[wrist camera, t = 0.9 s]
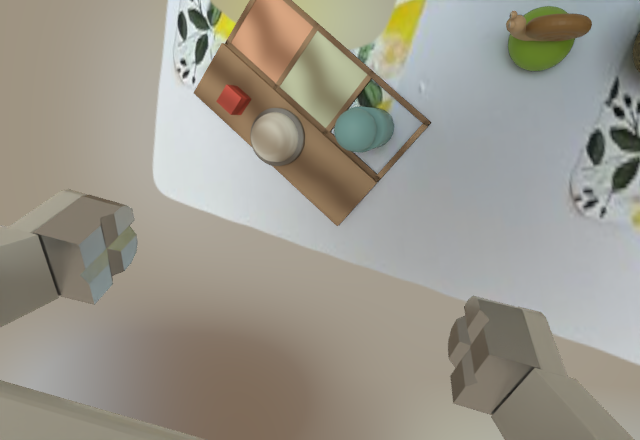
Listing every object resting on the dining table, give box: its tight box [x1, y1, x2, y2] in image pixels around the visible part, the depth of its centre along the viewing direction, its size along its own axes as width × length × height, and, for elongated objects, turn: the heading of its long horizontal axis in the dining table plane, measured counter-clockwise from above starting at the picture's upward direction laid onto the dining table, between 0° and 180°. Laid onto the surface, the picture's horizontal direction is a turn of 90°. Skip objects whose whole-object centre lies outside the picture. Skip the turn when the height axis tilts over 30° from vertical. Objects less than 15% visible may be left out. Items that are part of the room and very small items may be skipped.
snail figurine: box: [506, 6, 592, 71], centre depth 33 cm, size 5×6×12 cm
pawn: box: [334, 107, 394, 152], centre depth 40 cm, size 4×4×12 cm
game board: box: [194, 0, 431, 226], centre depth 46 cm, size 16×26×6 cm, turn 51°
